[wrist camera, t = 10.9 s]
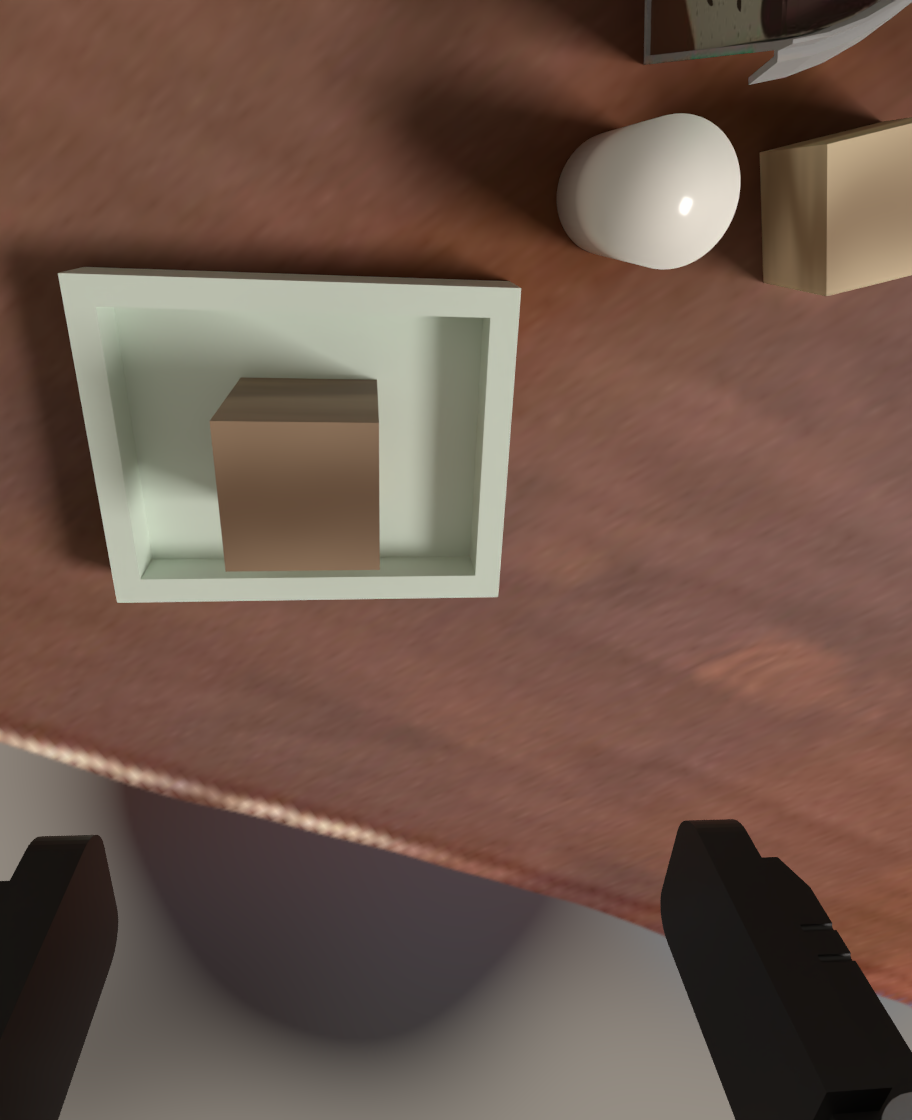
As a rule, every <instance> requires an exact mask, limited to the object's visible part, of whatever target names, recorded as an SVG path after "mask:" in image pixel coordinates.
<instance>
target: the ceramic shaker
mask: <svg viewBox="0 0 912 1120" xmlns="http://www.w3.org/2000/svg"><path fill="white" fill-rule="evenodd" d="M739 194H740V168H739V163H738V159H737V156H736V153H735V150H734V148H733V146H732V144H731V142H730V141H729V139H728V138H727V136H726V135H725V134H724V133H723V132H722V131H721V130H720V129H719V128H718V127H717V126H716V125H715V124H713V123H712V122H710V121H709V120H707V119H705V118H703V117H700V116H696V115H693V114H686V113H678V114H670V115H665V116H661V117H658V118H654V119H651V120H647V121H644V122H640V123H636V124H633V125H629V126H626V127H622V128H618V129H615V130H611V131H608V132H604V133H601V134H598V135H596V136H594V137H592V138H590V139H588V140H587V141H585V142H584V143H583V144H581V145H580V146H579V147H578V148H577V149H576V150H575V151H574V152H573V154H572V155H571V156H570V158H569V159H568V161H567V162H566V164H565V166H564V168H563V170H562V173H561V175H560V179H559V182H558V188H557V211H558V215H559V219H560V222H561V224H562V226H563V228H564V231H565V232H566V234H567V235H568V237H569V238H570V239H571V240H572V241H573V242H574V243H575V244H576V245H577V246H579V247H580V248H582V249H583V250H585V251H587V252H590V253H593V254H597V255H601V256H605V257H609V258H613V259H617V260H621V261H625V262H629V263H633V264H637V265H641V266H645V267H649V268H653V269H673V268H679V267H682V266H685V265H688V264H690V263H692V262H694V261H696V260H697V259H699V258H701V257H702V256H704V255H705V254H706V253H707V252H708V251H710V250H711V249H712V248H713V247H714V246H715V245H716V244H717V243H718V241H719V240H720V239H721V237H722V236H723V235H724V233H725V232H726V230H727V228H728V227H729V225H730V223H731V221H732V219H733V216H734V214H735V211H736V208H737V204H738V200H739Z"/></svg>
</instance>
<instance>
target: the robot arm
mask: <svg viewBox="0 0 912 1120" xmlns="http://www.w3.org/2000/svg"><path fill="white" fill-rule="evenodd" d="M661 918H662V924H663V929H664V933H665V936H666V939H667V942H668V945H669V947H670V950H671V952H672V955H673V958H674V960H675V963H676V966H677V968H678V970H679V973H680V976H681V979H682V981H683V984H684V986H685V989H686V991H687V994H688V997H689V999H690V1002H691V1004H692V1007H693V1010H694V1012H695V1015H696V1018H697V1020H698V1022H699V1025H700V1028H701V1030H702V1033H703V1036H704V1038H705V1041H706V1044H707V1046H708V1049H709V1051H710V1054H711V1057H712V1059H713V1062H714V1065H715V1067H716V1070H717V1073H718V1075H719V1078H720V1080H721V1083H722V1086H723V1088H724V1090H725V1093H726V1096H727V1099H728V1101H729V1104H730V1106H731V1109H732V1112H733V1114H734V1117H735V1120H912V1052H911V1050H910V1049H909V1047H908V1046H907V1044H906V1042H905V1041H904V1039H903V1038H902V1036H901V1034H900V1032H899V1031H898V1029H897V1028H896V1026H895V1024H894V1023H893V1021H892V1019H891V1018H890V1016H889V1015H888V1013H887V1011H886V1010H885V1008H884V1007H883V1005H882V1003H881V1002H880V1000H879V998H878V997H877V995H876V993H875V992H874V990H873V989H872V987H871V985H870V984H869V982H868V980H867V979H866V977H865V976H864V974H863V972H862V971H861V969H860V968H859V966H858V964H857V963H856V961H852V959H851V956H850V951H849V950H848V948H847V946H846V945H845V943H844V942H843V940H842V938H841V937H840V935H839V933H838V932H837V930H833V928H832V922H831V920H830V919H829V917H828V916H827V914H826V912H825V911H824V909H823V907H822V906H821V904H820V903H819V901H818V899H817V898H816V896H815V894H814V893H813V891H812V890H811V888H810V887H809V886H808V885H807V884H806V883H805V882H804V881H803V880H802V879H801V878H799V877H798V876H797V875H796V874H795V873H794V872H793V871H792V870H791V869H790V868H789V867H788V866H786V865H785V864H784V863H783V862H782V861H781V860H780V859H779V858H778V857H767V858H761V856H760V854H759V852H758V851H757V849H756V847H755V845H754V844H753V842H752V840H751V838H750V837H749V835H748V833H747V831H746V830H745V828H744V827H743V826H742V824H741V823H740V822H738V821H737V820H734V819H728V820H692V821H683V822H682V823H681V824H680V826H679V828H678V831H677V835H676V839H675V843H674V846H673V850H672V854H671V858H670V861H669V865H668V869H667V873H666V876H665V880H664V884H663V888H662V892H661ZM117 933H118V911H117V906H116V901H115V896H114V892H113V887H112V882H111V877H110V872H109V867H108V863H107V858H106V853H105V848H104V844H103V841H102V839H101V837H100V836H98V835H78V836H45V837H44V836H42V837H37V838H36V839H34V840H33V841H32V842H31V843H30V845H29V846H28V848H27V849H26V851H25V853H24V855H23V857H22V859H21V861H20V862H19V865H18V866H17V868H16V870H15V872H14V874H13V876H12V878H11V880H10V881H0V1120H58V1118H59V1115H60V1112H61V1109H62V1106H63V1103H64V1100H65V1098H66V1095H67V1092H68V1089H69V1086H70V1083H71V1080H72V1077H73V1074H74V1071H75V1068H76V1065H77V1063H78V1059H79V1057H80V1054H81V1051H82V1048H83V1045H84V1042H85V1039H86V1036H87V1033H88V1030H89V1027H90V1024H91V1021H92V1019H93V1016H94V1013H95V1010H96V1007H97V1004H98V1001H99V998H100V995H101V992H102V989H103V987H104V983H105V981H106V978H107V975H108V972H109V969H110V966H111V963H112V960H113V956H114V952H115V947H116V941H117Z"/></svg>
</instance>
